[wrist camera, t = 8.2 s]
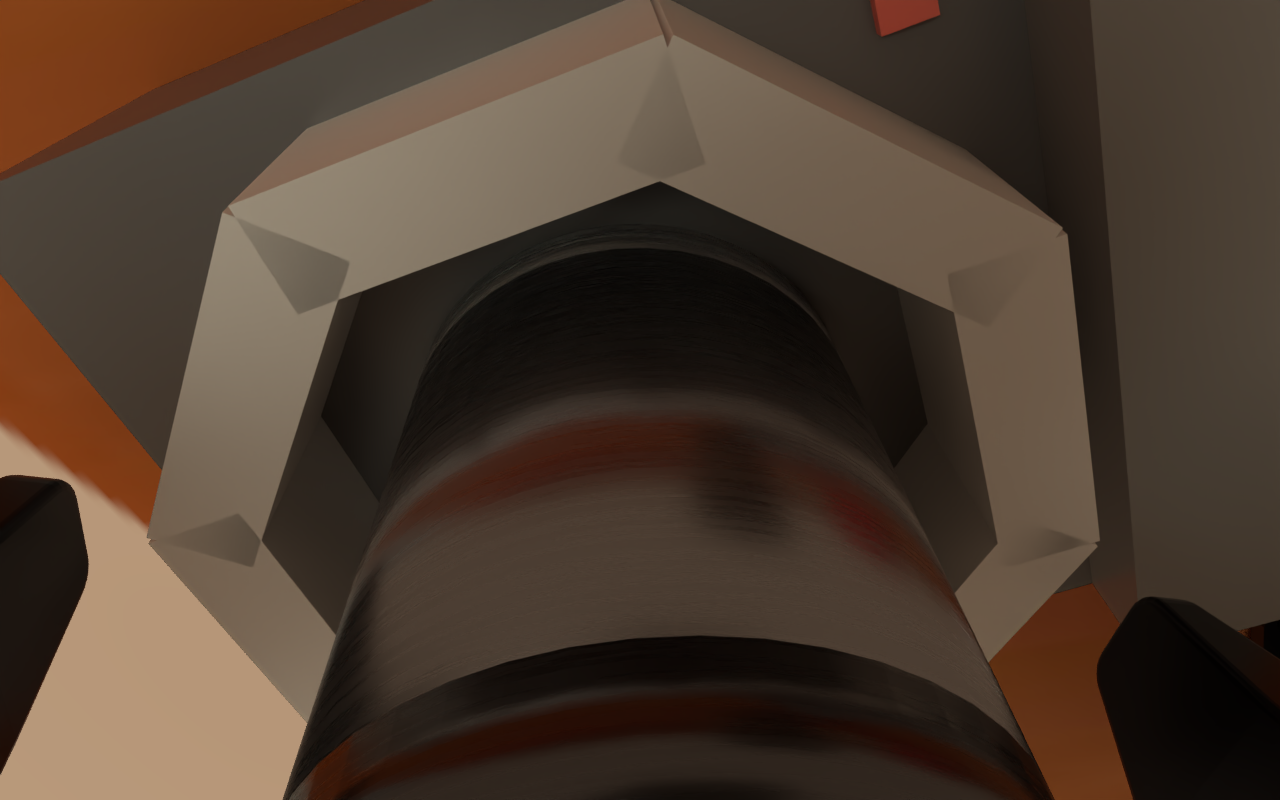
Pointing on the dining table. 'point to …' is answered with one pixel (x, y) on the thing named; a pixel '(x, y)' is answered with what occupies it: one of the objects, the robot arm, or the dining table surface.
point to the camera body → (729, 210)
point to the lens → (650, 560)
